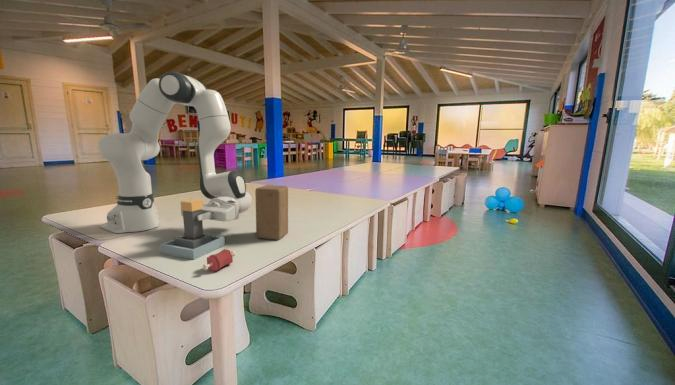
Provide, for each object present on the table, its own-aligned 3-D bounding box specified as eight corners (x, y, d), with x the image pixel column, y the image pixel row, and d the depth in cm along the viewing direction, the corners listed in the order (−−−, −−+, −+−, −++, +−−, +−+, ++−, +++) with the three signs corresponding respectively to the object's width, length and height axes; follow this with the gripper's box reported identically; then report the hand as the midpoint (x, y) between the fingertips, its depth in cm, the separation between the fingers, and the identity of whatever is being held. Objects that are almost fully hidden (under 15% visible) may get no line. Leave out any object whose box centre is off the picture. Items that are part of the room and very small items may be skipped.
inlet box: (160, 253, 93) (159, 240, 92) (194, 239, 106) (193, 228, 105) (193, 259, 89) (192, 246, 88) (224, 245, 102) (224, 233, 101)
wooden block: (279, 241, 108) (279, 189, 104) (255, 238, 109) (254, 188, 106) (289, 233, 117) (288, 185, 114) (266, 231, 119) (266, 184, 116)
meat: (212, 275, 77) (207, 258, 77) (199, 276, 79) (195, 260, 79) (242, 259, 88) (238, 244, 88) (230, 261, 90) (226, 246, 90)
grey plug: (183, 241, 95) (180, 201, 93) (194, 237, 100) (191, 199, 97) (194, 243, 94) (191, 202, 91) (204, 239, 98) (202, 200, 96)
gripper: (198, 198, 110) (166, 205, 97) (241, 202, 104) (214, 210, 91) (199, 213, 111) (168, 222, 98) (242, 219, 105) (215, 229, 92)
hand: (190, 217), depth 94 cm, fingers closed on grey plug, 4 cm apart
